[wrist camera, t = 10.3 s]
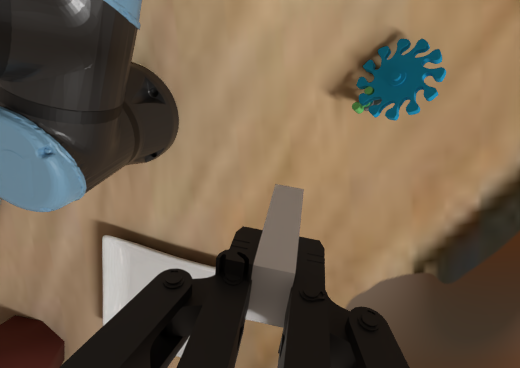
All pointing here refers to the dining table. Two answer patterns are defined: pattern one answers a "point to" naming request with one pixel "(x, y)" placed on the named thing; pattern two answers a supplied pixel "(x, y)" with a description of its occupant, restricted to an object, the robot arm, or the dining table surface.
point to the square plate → (137, 272)
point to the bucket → (29, 344)
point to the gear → (399, 80)
